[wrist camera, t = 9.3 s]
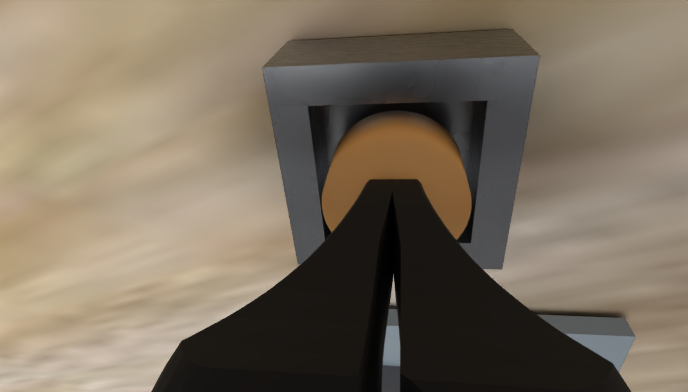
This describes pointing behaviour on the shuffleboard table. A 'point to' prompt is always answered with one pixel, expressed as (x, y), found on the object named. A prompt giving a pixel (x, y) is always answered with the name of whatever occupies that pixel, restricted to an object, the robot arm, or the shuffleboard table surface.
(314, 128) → the control box
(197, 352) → the robot arm
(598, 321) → the board
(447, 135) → the button
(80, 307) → the shuffleboard table surface
